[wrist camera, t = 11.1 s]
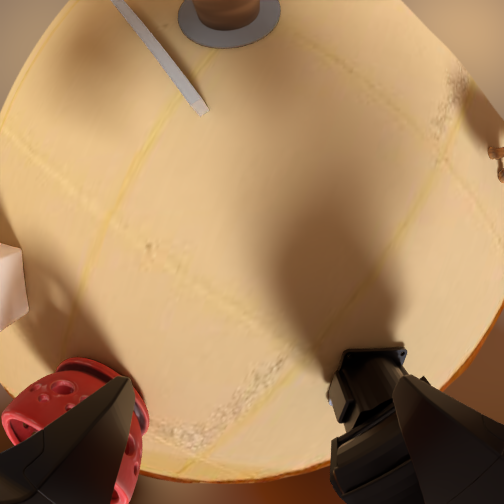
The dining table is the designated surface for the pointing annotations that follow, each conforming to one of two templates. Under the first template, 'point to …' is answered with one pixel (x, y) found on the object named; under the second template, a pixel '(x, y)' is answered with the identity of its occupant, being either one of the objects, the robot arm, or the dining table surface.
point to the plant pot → (66, 397)
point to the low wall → (162, 58)
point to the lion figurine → (497, 154)
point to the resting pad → (233, 37)
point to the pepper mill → (226, 13)
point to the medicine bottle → (11, 286)
